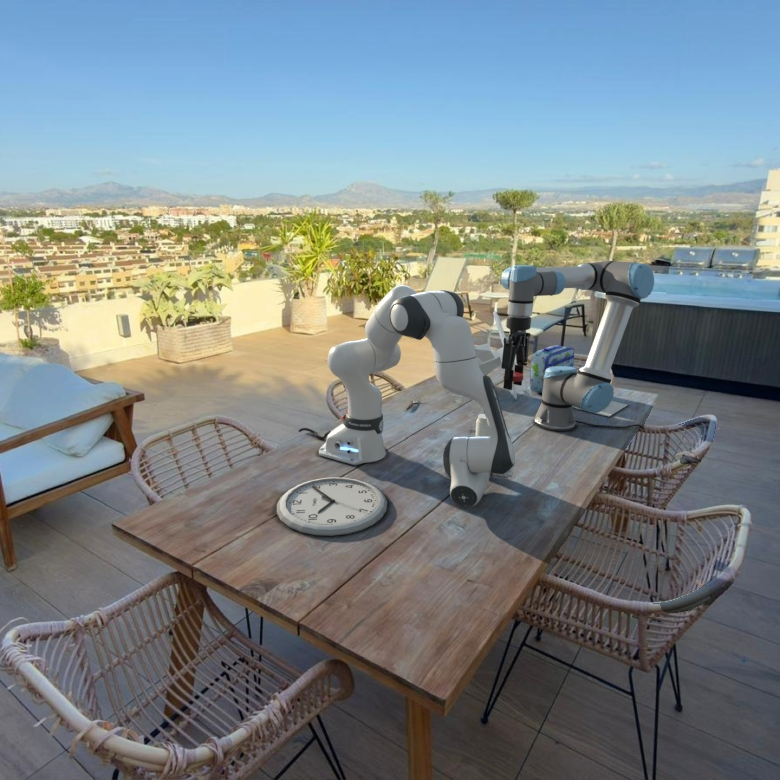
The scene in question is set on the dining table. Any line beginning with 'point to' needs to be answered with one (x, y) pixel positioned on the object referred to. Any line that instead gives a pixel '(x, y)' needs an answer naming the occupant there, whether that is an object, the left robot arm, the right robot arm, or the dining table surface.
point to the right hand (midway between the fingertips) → (512, 386)
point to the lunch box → (548, 363)
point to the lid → (517, 377)
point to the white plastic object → (495, 357)
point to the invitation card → (611, 408)
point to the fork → (413, 402)
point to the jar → (482, 426)
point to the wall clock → (331, 506)
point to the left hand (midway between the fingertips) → (483, 453)
